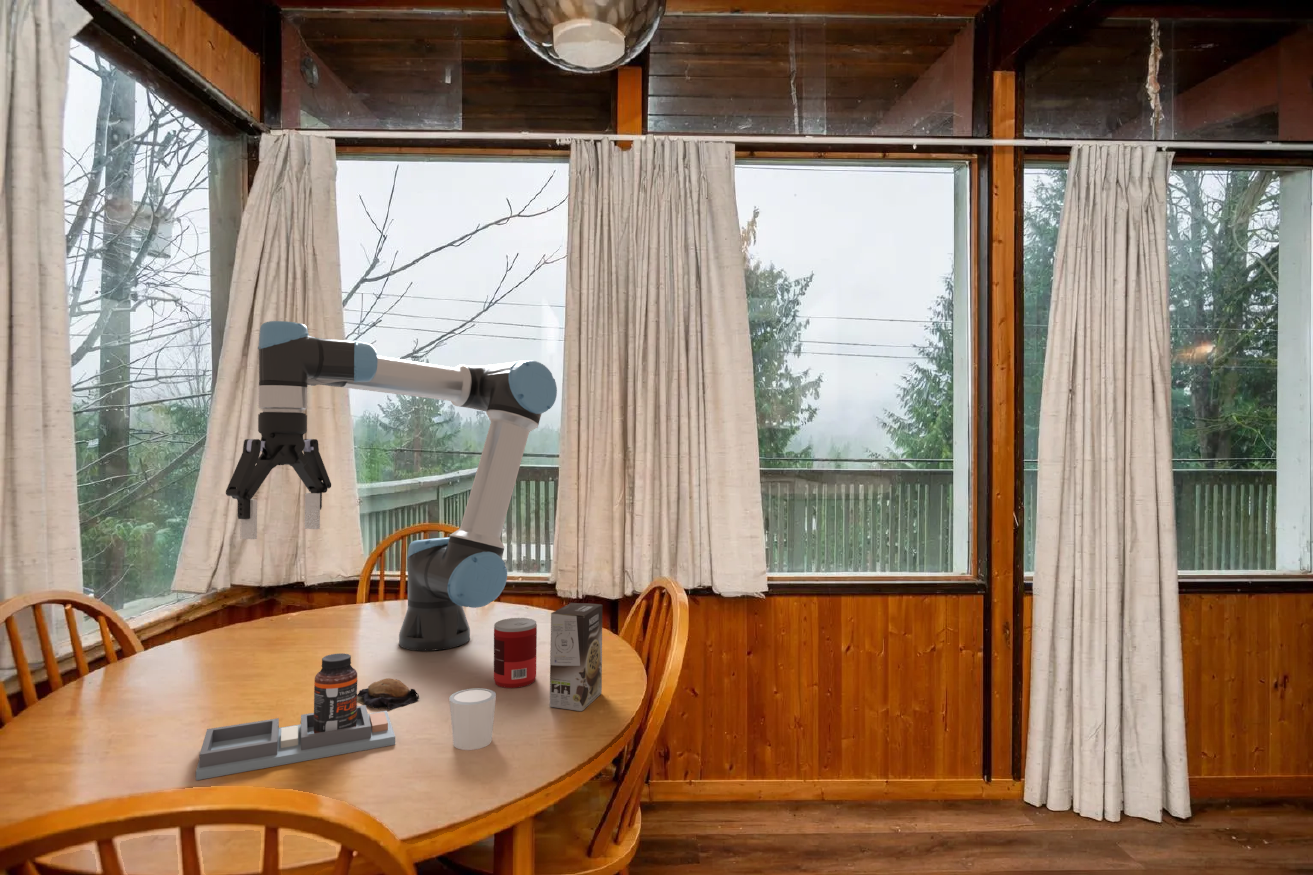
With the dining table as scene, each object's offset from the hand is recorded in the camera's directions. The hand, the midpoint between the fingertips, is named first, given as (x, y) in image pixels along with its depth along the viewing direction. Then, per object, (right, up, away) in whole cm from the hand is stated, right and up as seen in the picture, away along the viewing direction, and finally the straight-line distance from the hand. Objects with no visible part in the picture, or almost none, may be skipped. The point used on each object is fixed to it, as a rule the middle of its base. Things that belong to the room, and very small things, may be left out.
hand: (282, 533), depth 123 cm
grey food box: (+51, -29, 0) cm, 59 cm away
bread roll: (+18, -30, 0) cm, 35 cm away
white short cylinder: (+37, -29, -17) cm, 50 cm away
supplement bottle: (+17, -28, -16) cm, 36 cm away
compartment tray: (+13, -29, -19) cm, 37 cm away
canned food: (+39, -29, +10) cm, 49 cm away
